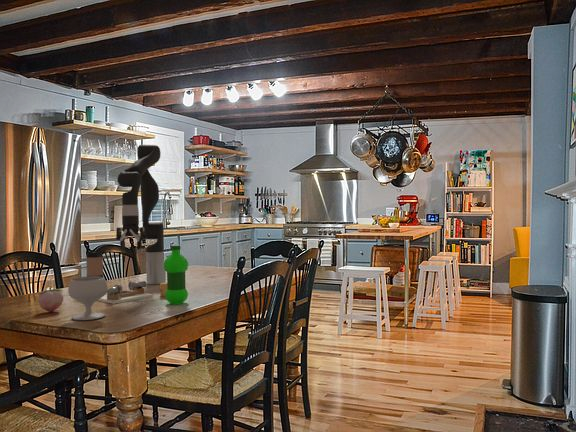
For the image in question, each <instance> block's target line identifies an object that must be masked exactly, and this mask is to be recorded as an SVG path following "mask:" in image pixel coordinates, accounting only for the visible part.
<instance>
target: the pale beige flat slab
mask: <svg viewBox="0 0 576 432" xmlns="http://www.w3.org/2000/svg"><path fill="white" fill-rule="evenodd" d="M153 297H154V295H153V294H151V293H147V292H144V293H142V294H136V293H135V292H133V290H122V292H121V299H119V300H107V294H105V295H104V296H103V297H102V298H100V299H98V300H97V302H103V303H108V304H119V303H127V302H131V301H138V299H139V300H143V299H144V300H145V299H150V298H153Z"/></svg>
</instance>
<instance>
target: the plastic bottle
mask: <svg viewBox="0 0 576 432" xmlns="http://www.w3.org/2000/svg"><path fill="white" fill-rule="evenodd" d="M181 246H182V245H181V244H173V245H172V244H171V245H170V250H171V253H170V255H168V256H167V257H166V258H164V269H165V272H166V283H167V290H166V293H165V297H164V298H165V299H166V301H167V302H168V303H169V304H170V305H176V306H177V305H182V304H184V302H186V300H188V297H189V292H188V290H187V288H186V284H187V283H186V271H187V270H188V268H189V262H188V259H187V258H186V257H184V256H183V255H182V254H181V253H180V251H181Z"/></svg>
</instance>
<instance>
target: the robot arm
mask: <svg viewBox="0 0 576 432" xmlns="http://www.w3.org/2000/svg"><path fill="white" fill-rule="evenodd" d="M137 146H138V147H137V151H136V152H137V160H135V161H134V162H133V163H132V164H131V165H130V166H129V167H128V168H126V169H124V170H122V171H121V172H120V173H119V174H118V176H117V184H118V185H119V187H122V188H131V189H130V191H126V192H124V193H122V194H121V197H122V199H121V200H122V201H121V203H122V204H121V205H122V207H121V225H122V226H119V227H116V233H115V234H116V235H115V238H116V240H117V241H119V243H120V244H119V246H120V248H121V250H126V239H127V238H128V237H134V238H135V239H136V240H137V242H136V249H137V250H142V247H143V244H142V243H143V241H145V240H156V242H155V243H153V244H151V245H148V246H146V247H145V259H146V260H145V266H146V283H147V285H160V283H167V272H166V271H165V269H164V261H165V258H164V256H165V255H164V254H165V253H164V234H165V233H164V231H165V230H164V223H163V222H160V221H156V222H155V221H154V222H153V221H151V222H149V221H150V217H151V215H152V212H153V211H154V208H155V207H156V205H157V204H158V202H159V200H160V193H159V192H160V191H159V185H158V183H157V182H156V180H155V178H154V177H153V176H152V174H151V173H150V171H149V169H150V168H152V166H154V165H155V164H157V163H158V162H159V161H160V159H161V155H162V154H161V153H162V152H161V148H160V147H159V146H158V145H156V144H139V145H137ZM139 192H140V201H141V209H142V213H141V214H142V226H139V224H140V220H139V218H140V215H139V213H140V212H139ZM122 232H123V233H122Z"/></svg>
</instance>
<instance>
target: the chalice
mask: <svg viewBox="0 0 576 432" xmlns="http://www.w3.org/2000/svg"><path fill="white" fill-rule="evenodd" d="M108 289H109V288H108V284H107V280H106V279H105V277H104V276H103V277H101V276H88V277H87V276H79V277H74V278H71V279H70V281H69V284H68V288H67V293H68V296H69V297H70V298H71V299H73V300H74V301H77V302H79V303H81V304H83V305H84V307H85V312H83V313H80V314H75V315H73V316H72V317H71V320H74V321H92V320H98V319H102V318H104V317H106V314H105V313H103V312H93V311H92V306H93V304H94V303H96V302H98V299H100V298H102V297H103V296H104V295H107V294H108V293H107V291H108Z"/></svg>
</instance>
